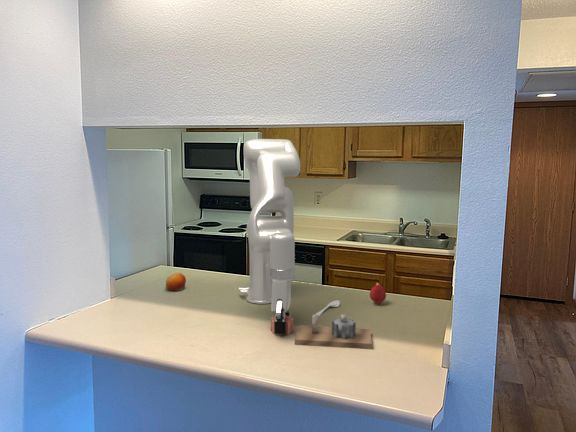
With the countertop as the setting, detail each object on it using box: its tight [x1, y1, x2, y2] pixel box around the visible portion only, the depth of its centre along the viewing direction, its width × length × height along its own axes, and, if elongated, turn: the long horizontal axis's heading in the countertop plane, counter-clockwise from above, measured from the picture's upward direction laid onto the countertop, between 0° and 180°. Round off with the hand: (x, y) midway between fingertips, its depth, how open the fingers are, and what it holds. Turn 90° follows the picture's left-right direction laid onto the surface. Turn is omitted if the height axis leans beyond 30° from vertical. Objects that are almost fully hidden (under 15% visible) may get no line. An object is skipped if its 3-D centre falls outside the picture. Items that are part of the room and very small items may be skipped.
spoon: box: [314, 299, 341, 317], centre depth 159 cm, size 4×21×2 cm, turn 146°
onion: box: [369, 282, 387, 305], centre depth 165 cm, size 6×6×8 cm
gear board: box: [293, 313, 373, 350], centre depth 134 cm, size 22×11×8 cm, turn 82°
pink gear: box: [270, 315, 294, 336], centre depth 140 cm, size 7×7×4 cm
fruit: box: [165, 272, 187, 292], centre depth 183 cm, size 8×8×8 cm
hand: (282, 328), depth 140 cm, fingers closed on pink gear, 6 cm apart
